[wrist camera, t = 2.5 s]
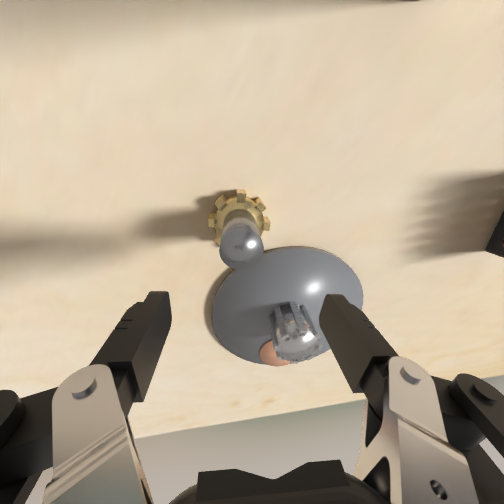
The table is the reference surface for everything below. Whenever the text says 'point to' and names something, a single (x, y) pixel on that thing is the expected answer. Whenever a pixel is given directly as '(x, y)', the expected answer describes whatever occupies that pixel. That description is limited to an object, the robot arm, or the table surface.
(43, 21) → the table surface
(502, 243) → the ammunition clip
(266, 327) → the carrier plate
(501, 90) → the table surface
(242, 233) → the planet gear
